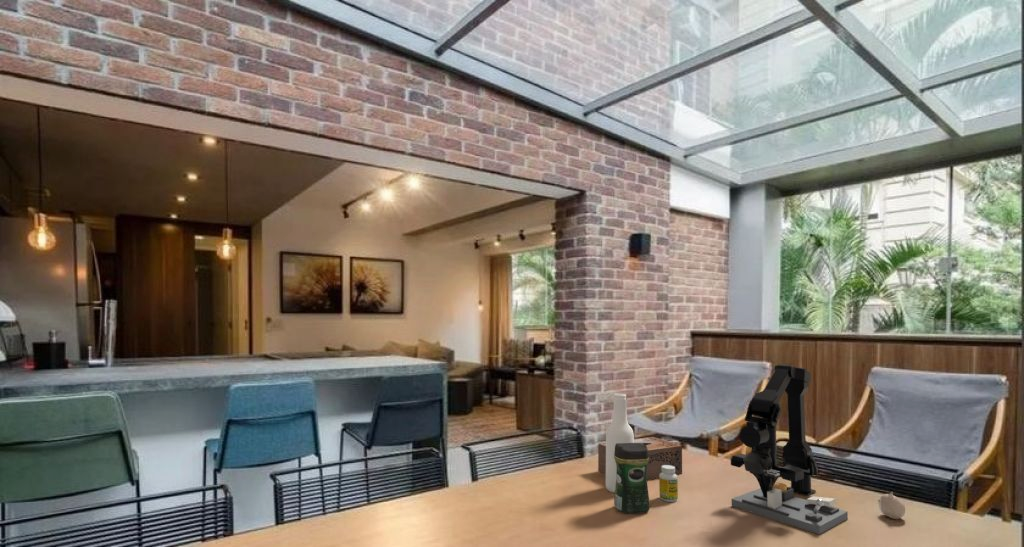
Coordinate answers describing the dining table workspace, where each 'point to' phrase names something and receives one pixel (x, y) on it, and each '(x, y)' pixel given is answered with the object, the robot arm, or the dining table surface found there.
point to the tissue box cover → (651, 456)
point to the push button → (780, 486)
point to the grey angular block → (774, 498)
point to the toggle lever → (818, 505)
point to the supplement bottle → (668, 484)
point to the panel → (792, 511)
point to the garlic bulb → (891, 506)
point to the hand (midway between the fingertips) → (766, 497)
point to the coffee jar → (631, 478)
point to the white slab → (826, 500)
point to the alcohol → (616, 438)
